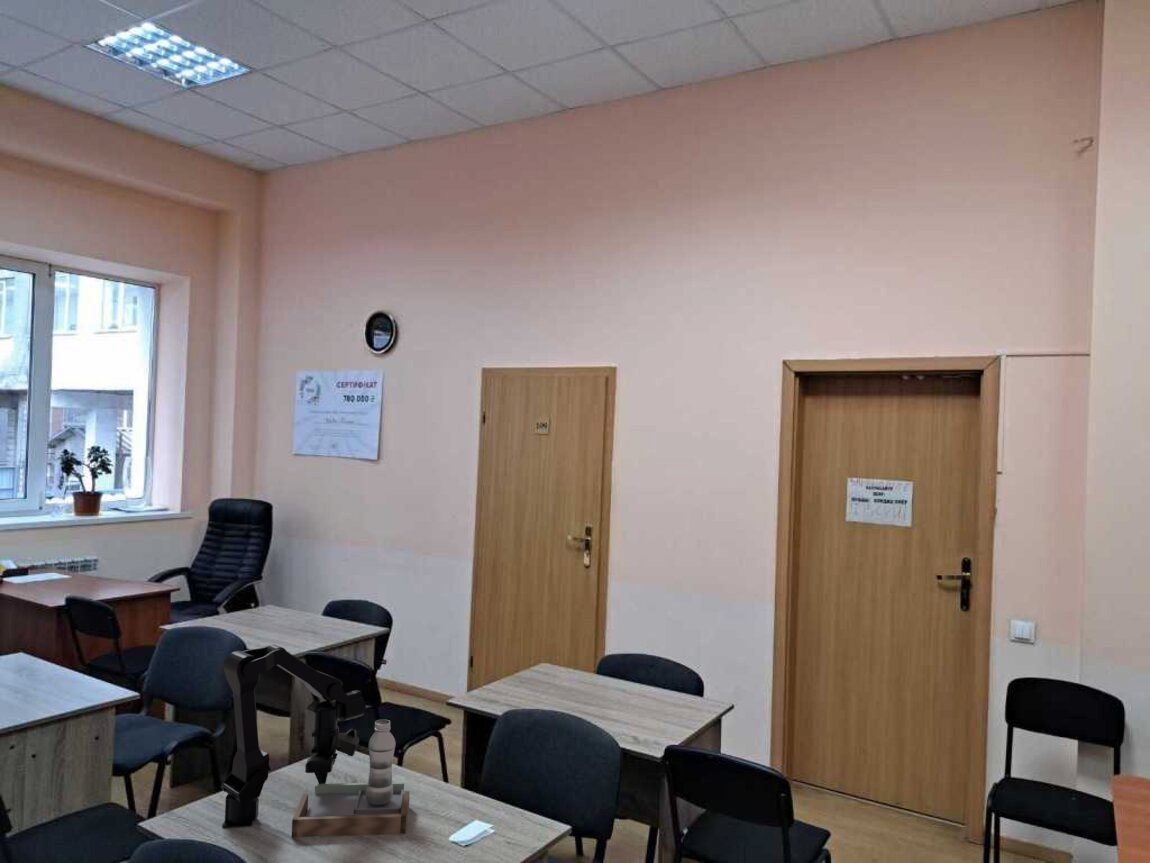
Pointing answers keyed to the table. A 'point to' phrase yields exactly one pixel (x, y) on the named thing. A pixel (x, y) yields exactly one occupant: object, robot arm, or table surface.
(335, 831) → the dock
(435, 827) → the table surface
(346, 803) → the tray
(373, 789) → the plastic bottle
